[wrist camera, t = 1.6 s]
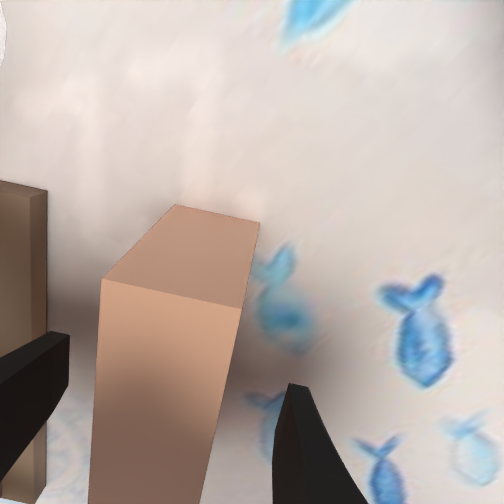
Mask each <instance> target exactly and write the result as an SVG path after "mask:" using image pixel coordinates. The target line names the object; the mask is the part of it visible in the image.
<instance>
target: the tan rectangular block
mask: <svg viewBox="0 0 504 504" xmlns="http://www.w3.org/2000/svg"><path fill="white" fill-rule="evenodd" d="M259 226H260V223H258V222H253V221H249V220H244V219H240V218H235V217H230V216H226V215H221V214H217V213H212V212H208V211H203V210H198V209H194V208H189V207H185V206H180V205H176V204H175V205H174V206H173V207H172V208H171V209H170V210H169V211H168V212H167V213H166V214H165V215H164V216H163V217H162V218H161V219H160V220H159V221H158V222H157V223H156V224H155V225H154V226H153V227H152V228H151V229H150V230H149V231H148V232H147V233H146V234H145V235H144V236H143V237H142V238H141V239H140V240H139V241H138V242H137V243H136V244H135V245H134V246H133V247H132V248H131V249H130V250H129V251H128V252H127V253H126V254H125V255H124V256H123V258H122V259H121V260H120V261H119V262H118V263H117V264H116V265H115V266H114V267H113V268H112V269H111V270H110V271H109V272H108V273H107V274H106V275H105V276H104V277H103V278H102V280H101V296H100V312H99V328H98V345H97V361H96V377H95V394H94V410H93V426H92V442H91V459H90V475H89V491H88V504H199V503H200V498H201V493H202V489H203V484H204V480H205V475H206V471H207V466H208V462H209V457H210V452H211V448H212V443H213V439H214V434H215V430H216V425H217V421H218V416H219V411H220V407H221V402H222V398H223V393H224V389H225V384H226V380H227V375H228V370H229V366H230V361H231V357H232V352H233V348H234V343H235V338H236V334H237V329H238V325H239V320H240V316H241V311H242V306H243V302H244V297H245V292H246V288H247V283H248V278H249V273H250V269H251V264H252V259H253V255H254V250H255V245H256V240H257V236H258V231H259Z"/></svg>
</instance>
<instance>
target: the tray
mask: <svg viewBox="0 0 504 504" xmlns="http://www.w3.org/2000/svg"><path fill="white" fill-rule="evenodd" d="M46 298H47V191H46V190H41V189H36V188H32V187H27V186H23V185H18V184H14V183H9V182H5V181H0V357H2V356H4V355H6V354H8V353H10V352H12V351H14V350H16V349H18V348H20V347H21V346H23V345H25V344H27V343H29V342H31V341H33V340H35V339H37V338H38V337H40V336H42V335H44V334H46ZM45 486H46V422H45V424H44V425H43V426H42V428H41V429H40V430H39V432H38V433H37V434H36V436H35V437H34V438H33V440H32V441H31V442H30V444H29V445H28V446H27V448H26V449H25V450H24V452H23V453H22V454H21V456H20V457H19V458H18V460H17V461H16V462H15V464H14V465H13V466H12V467H11V469H10V470H9V471H8V473H7V474H6V475H5V477H4V478H3V480H2V481H1V482H0V498H4V499H9V500H13V501H18V502H22V503H27V504H35V502H36V501H37V499H38V498H39V496H40V494H41V493H42V491H43V489H44V488H45Z"/></svg>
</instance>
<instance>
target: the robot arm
mask: <svg viewBox="0 0 504 504" xmlns="http://www.w3.org/2000/svg"><path fill="white" fill-rule="evenodd" d="M69 345H70V335H67V334H63V333H58V332H54V331H50V332H48V333H46V334H44V335H42V336H40V337H38V338H37V339H35V340H33V341H31V342H29V343H27V344H25V345H23V346H21V347H20V348H18V349H16V350H14V351H12V352H10V353H8V354H6V355H4V356H2V357H0V482H1V481H2V480H3V478H4V477H5V475H6V474H7V473H8V471H9V470H10V469H11V467H12V466H13V465H14V464H15V462H16V461H17V460H18V458H19V457H20V456H21V454H22V453H23V452H24V450H25V449H26V448H27V446H28V445H29V444H30V442H31V441H32V440H33V438H34V437H35V436H36V434H37V433H38V432H39V430H40V429H41V428H42V426H43V425H44V424H45V422H46V421H47V420H48V418H49V417H50V415H51V414H52V413H53V411H54V409H55V408H56V406H57V404H58V402H59V401H60V399H61V397H62V395H63V394H64V392H65V390H66V388H67V386H68V381H69ZM272 491H273V504H368V502H367V501H366V499H365V498H364V496H363V495H362V493H361V492H360V490H359V489H358V487H357V485H356V484H355V482H354V481H353V479H352V477H351V476H350V474H349V472H348V471H347V469H346V467H345V465H344V463H343V462H342V460H341V458H340V456H339V454H338V452H337V450H336V449H335V447H334V445H333V443H332V441H331V438H330V436H329V434H328V432H327V430H326V428H325V426H324V424H323V422H322V419H321V417H320V415H319V412H318V410H317V408H316V405H315V403H314V400H313V397H312V395H311V392H310V390H309V388H308V387H305V386H300V385H296V384H291V383H289V385H288V388H287V392H286V395H285V398H284V402H283V405H282V408H281V412H280V415H279V418H278V422H277V425H276V429H275V436H274V446H273V457H272Z"/></svg>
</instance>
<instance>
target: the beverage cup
mask: <svg viewBox="0 0 504 504" xmlns="http://www.w3.org/2000/svg"><path fill="white" fill-rule="evenodd" d="M6 32H7V26H6V22H5V18H4V14H3V10H2V6H1V2H0V65H1V63H2V62H3V60H4V55H5V43H6Z"/></svg>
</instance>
